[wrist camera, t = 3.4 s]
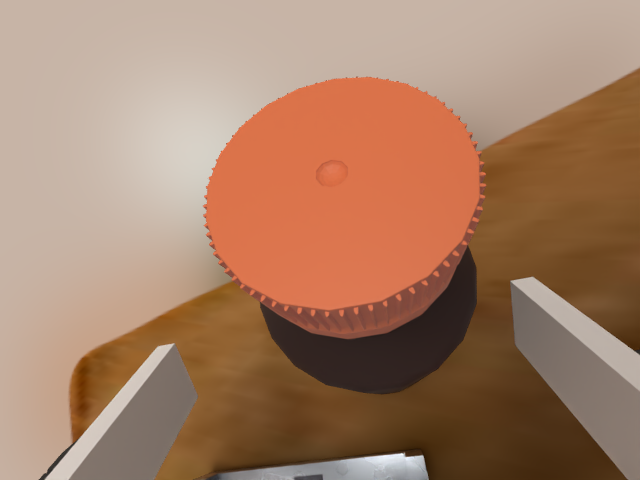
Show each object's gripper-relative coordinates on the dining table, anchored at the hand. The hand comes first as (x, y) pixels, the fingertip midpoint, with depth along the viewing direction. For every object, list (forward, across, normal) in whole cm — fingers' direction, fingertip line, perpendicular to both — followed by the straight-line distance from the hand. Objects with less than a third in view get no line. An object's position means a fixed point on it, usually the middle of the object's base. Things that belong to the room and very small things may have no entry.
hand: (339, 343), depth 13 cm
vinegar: (+9, +2, -7) cm, 12 cm away
